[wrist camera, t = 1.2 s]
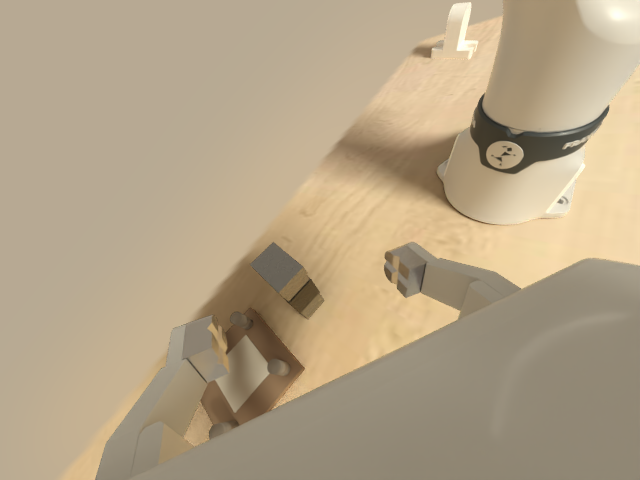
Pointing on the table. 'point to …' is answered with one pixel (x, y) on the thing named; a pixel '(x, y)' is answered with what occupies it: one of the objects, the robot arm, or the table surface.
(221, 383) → the peg cradle
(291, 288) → the grey rectangular block
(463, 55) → the cable organizer
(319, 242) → the table surface
